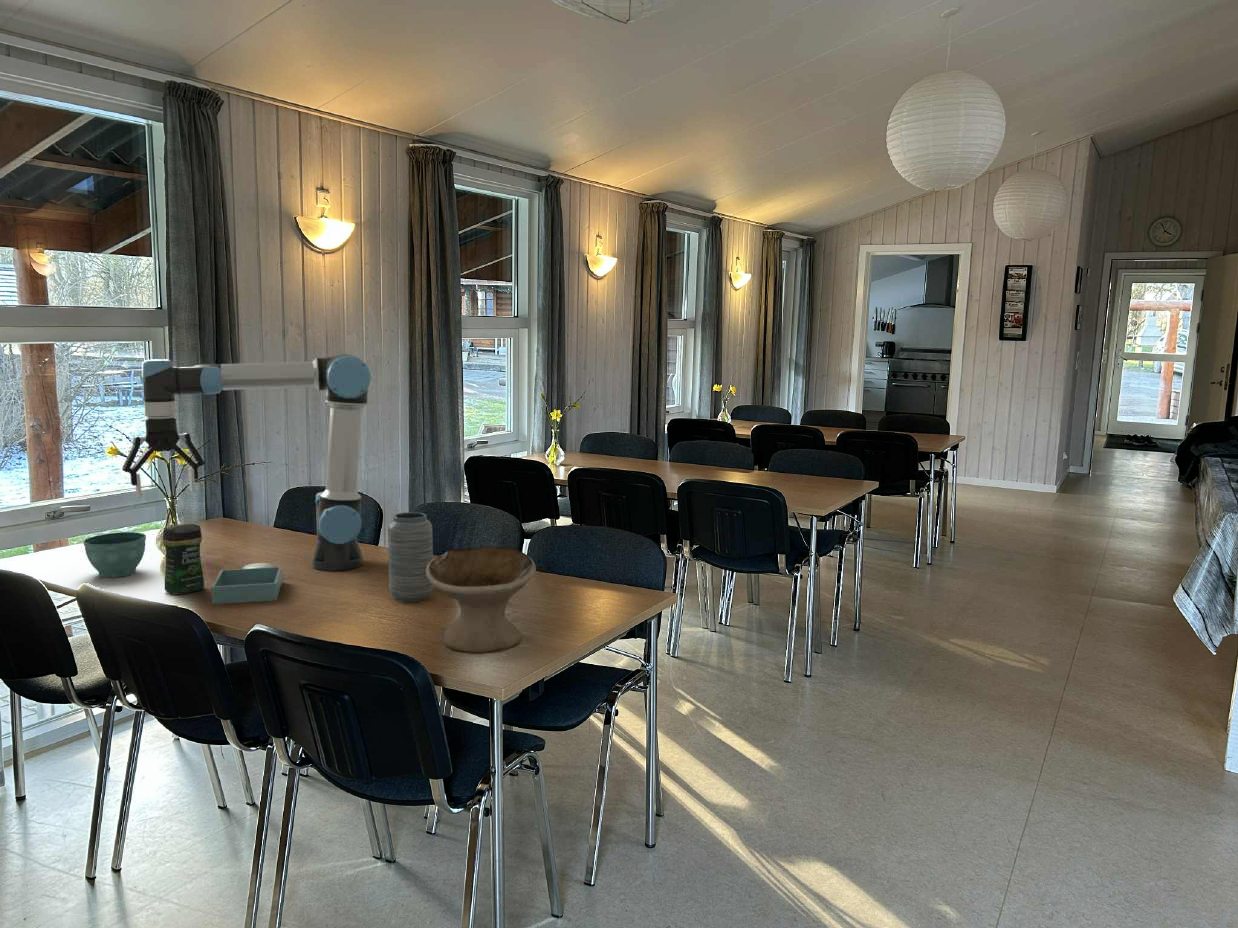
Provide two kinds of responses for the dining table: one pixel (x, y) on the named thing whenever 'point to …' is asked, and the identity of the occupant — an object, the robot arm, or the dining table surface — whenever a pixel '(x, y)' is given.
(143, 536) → the green bowl
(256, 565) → the white oval disc
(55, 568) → the dining table surface
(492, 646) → the bowl
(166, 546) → the coffee jar
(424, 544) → the vase
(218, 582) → the bin
